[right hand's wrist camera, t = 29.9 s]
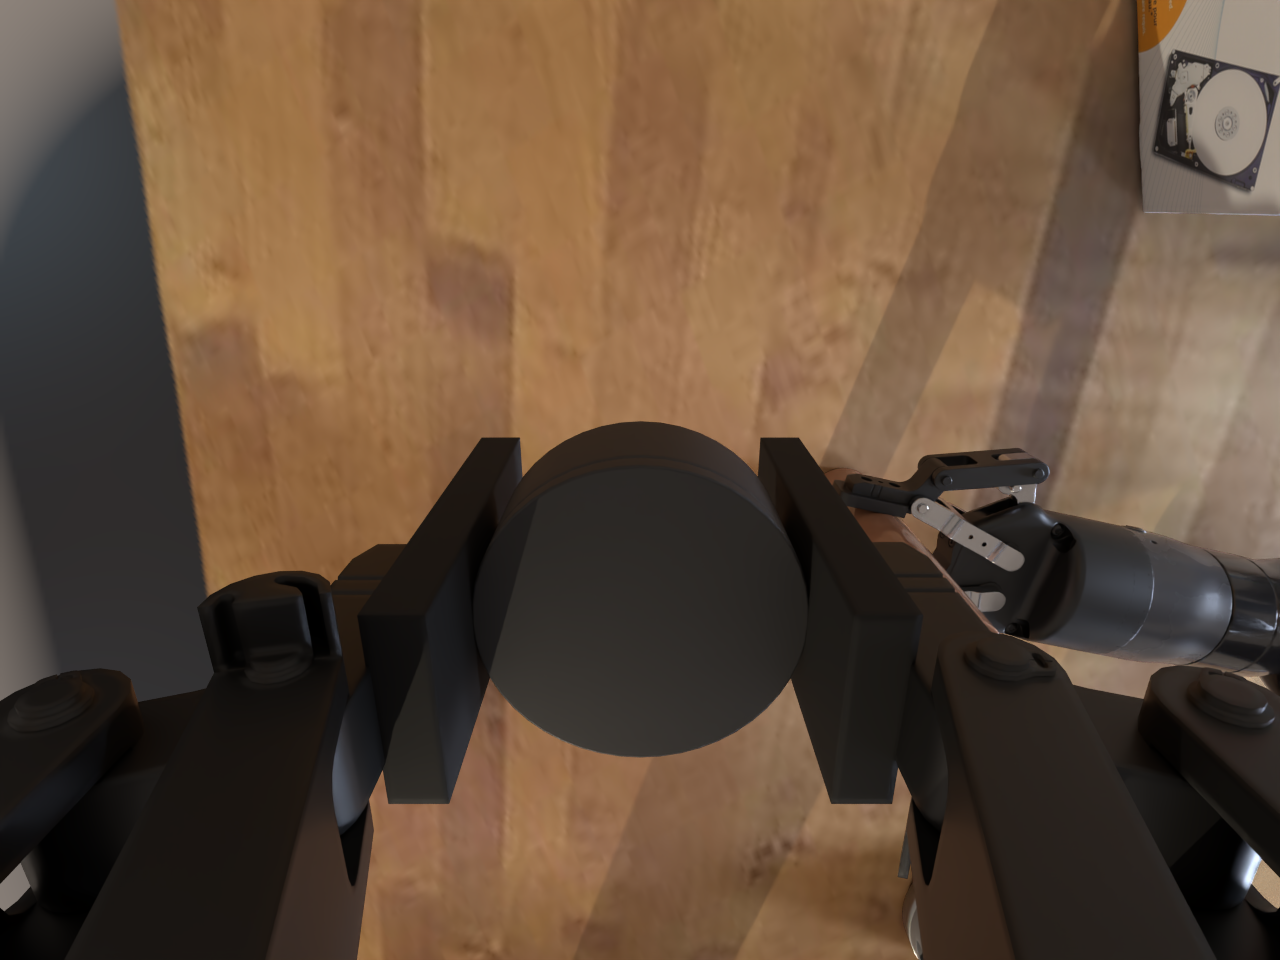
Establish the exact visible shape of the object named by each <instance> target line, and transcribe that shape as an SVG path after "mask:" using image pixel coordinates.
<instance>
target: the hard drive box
mask: <svg viewBox="0 0 1280 960" xmlns="http://www.w3.org/2000/svg"><path fill="white" fill-rule="evenodd" d="M1137 15H1138V54H1139V77H1140V83H1139V91H1140V125H1139V138H1140V159H1141V169H1142V195H1143V212H1144V213H1195V214H1234V215H1271V216H1280V0H1137Z"/></svg>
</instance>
